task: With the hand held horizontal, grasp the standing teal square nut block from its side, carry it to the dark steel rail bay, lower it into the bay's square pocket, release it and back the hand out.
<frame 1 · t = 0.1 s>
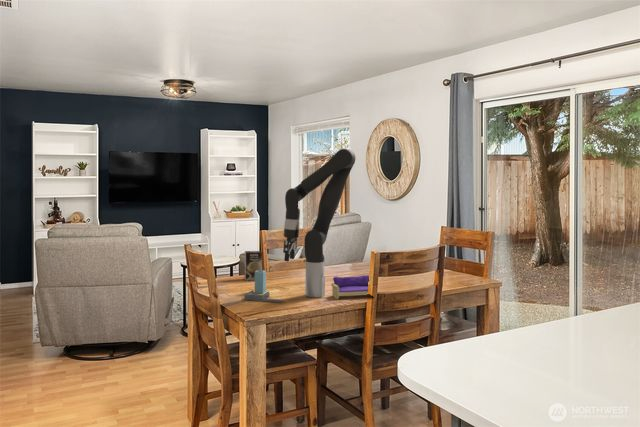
hand: (289, 259, 274), 17 cm above the table, tool pointing down, fingers open, 8 cm apart
rail bay: (257, 297, 264), on the table
toy sofa: (353, 297, 271), on the table
nut block: (260, 292, 277), on the table
coffee box: (252, 279, 310), on the table
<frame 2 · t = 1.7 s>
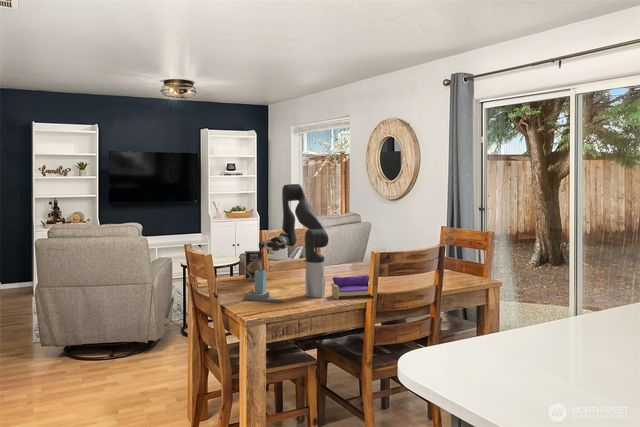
hand: (268, 247, 286), 22 cm above the table, tool horizontal, fingers open, 8 cm apart
nothing on the table moved.
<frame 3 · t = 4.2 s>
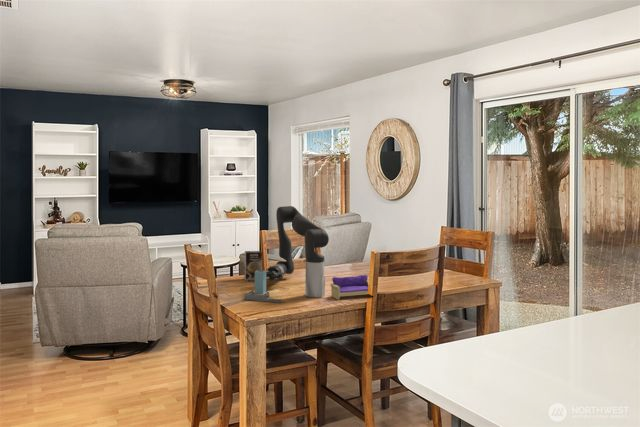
hand: (264, 277, 282), 7 cm above the table, tool horizontal, fingers open, 8 cm apart
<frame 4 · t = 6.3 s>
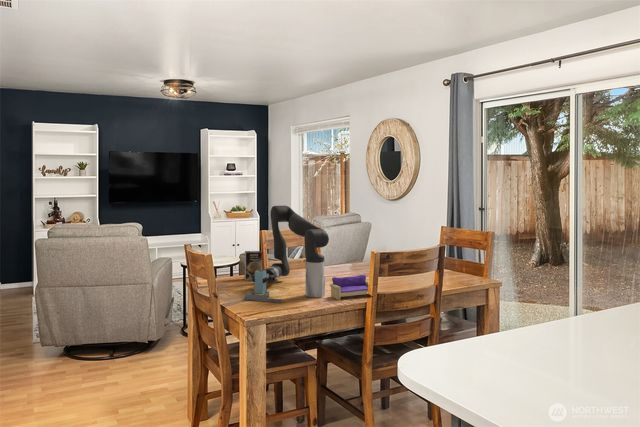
hand: (258, 280, 274), 7 cm above the table, tool horizontal, fingers closed on nut block, 4 cm apart
nut block: (260, 292, 277), on the table, touching gripper
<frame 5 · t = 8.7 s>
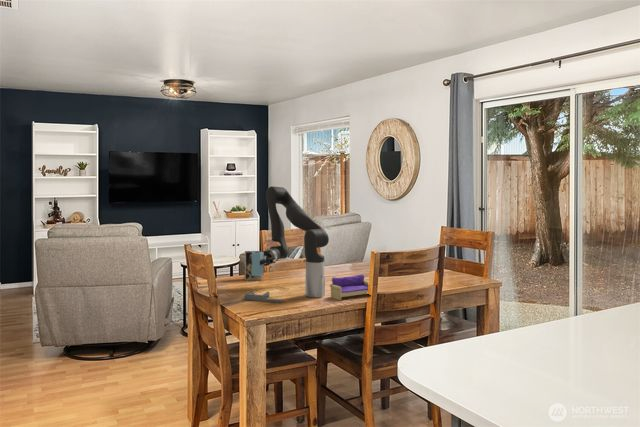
hand: (255, 262, 261), 18 cm above the table, tool horizontal, fingers closed on nut block, 4 cm apart
nut block: (257, 274, 264), point 11 cm above the table, touching gripper
when the fingers open (8 cm above the table, at t = 11.3 s): nut block drops 1 cm, resting on rail bay.
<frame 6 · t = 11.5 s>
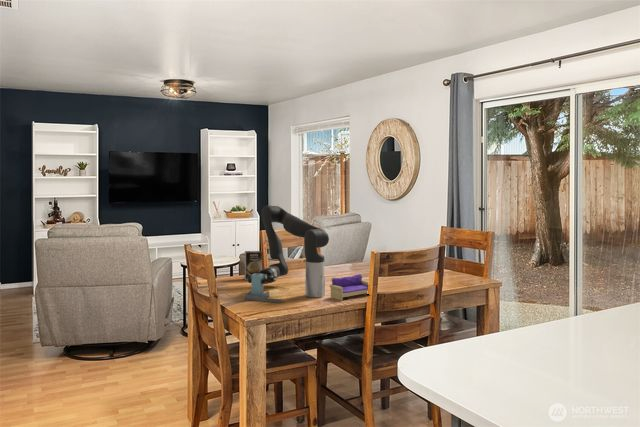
hand: (255, 281, 262), 9 cm above the table, tool horizontal, fingers open, 6 cm apart
nut block: (257, 296, 265), point 1 cm above the table, touching rail bay
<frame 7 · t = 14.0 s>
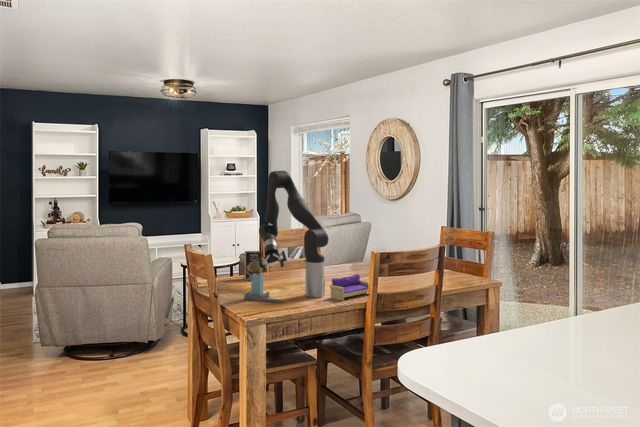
hand: (273, 268, 277), 12 cm above the table, tool tilted 60°, fingers open, 8 cm apart
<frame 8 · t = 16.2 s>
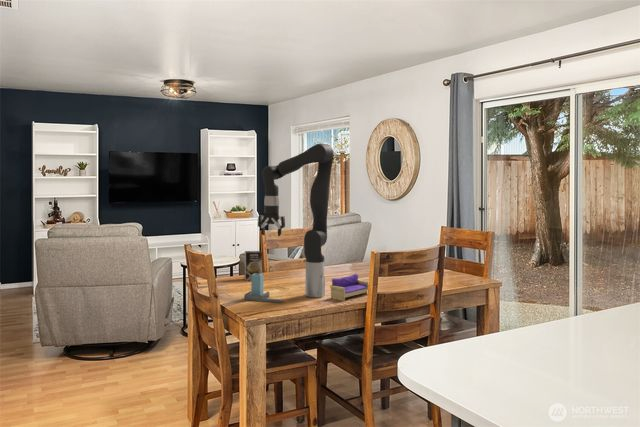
hand: (271, 235, 284), 28 cm above the table, tool pointing down, fingers open, 8 cm apart
at the end: nut block inside the target area on the rail bay (0.0 cm from its centre), point 0.6 cm above the rail bay's base; nut block tilted 0°; the gripper is holding nothing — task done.
